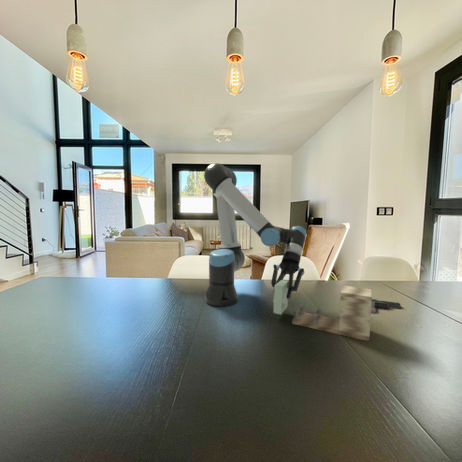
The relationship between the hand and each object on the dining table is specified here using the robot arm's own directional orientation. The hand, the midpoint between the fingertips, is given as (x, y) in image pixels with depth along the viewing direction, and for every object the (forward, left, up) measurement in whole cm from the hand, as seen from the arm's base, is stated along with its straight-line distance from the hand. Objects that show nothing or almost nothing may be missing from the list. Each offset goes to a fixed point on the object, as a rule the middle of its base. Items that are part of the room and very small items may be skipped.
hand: (279, 303), depth 93 cm
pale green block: (0, +2, -3) cm, 4 cm away
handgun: (+36, +32, -6) cm, 49 cm away
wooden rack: (+18, +2, -6) cm, 19 cm away
